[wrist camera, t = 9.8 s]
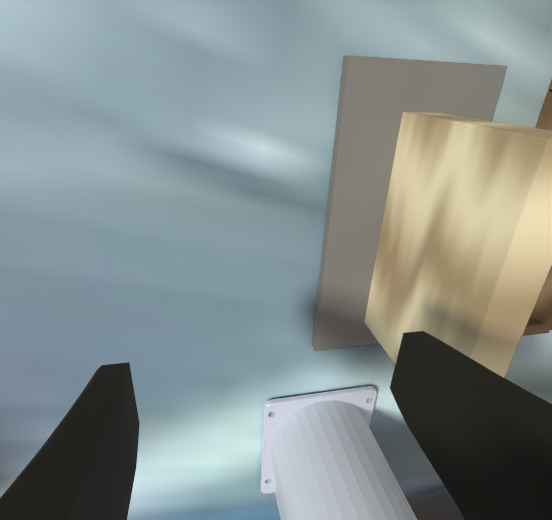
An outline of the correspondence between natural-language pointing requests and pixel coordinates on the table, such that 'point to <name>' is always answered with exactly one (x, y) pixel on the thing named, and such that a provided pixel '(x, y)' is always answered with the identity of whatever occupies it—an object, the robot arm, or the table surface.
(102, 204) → the table surface
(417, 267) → the wooden block
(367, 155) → the mat
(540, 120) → the frame
